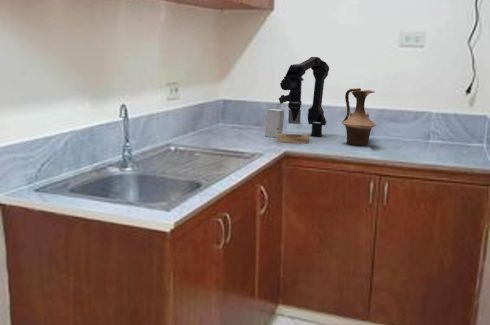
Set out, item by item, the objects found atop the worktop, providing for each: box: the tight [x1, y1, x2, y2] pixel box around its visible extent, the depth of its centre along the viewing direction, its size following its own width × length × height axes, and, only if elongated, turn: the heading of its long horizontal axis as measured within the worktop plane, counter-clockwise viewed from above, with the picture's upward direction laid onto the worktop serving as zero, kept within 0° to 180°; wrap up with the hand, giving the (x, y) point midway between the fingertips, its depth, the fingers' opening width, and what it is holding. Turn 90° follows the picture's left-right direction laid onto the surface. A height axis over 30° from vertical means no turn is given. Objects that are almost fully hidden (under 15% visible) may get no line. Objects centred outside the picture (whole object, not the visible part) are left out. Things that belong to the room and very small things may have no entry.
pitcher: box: [341, 87, 377, 146], centre depth 252 cm, size 18×17×28 cm
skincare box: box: [264, 108, 285, 138], centre depth 273 cm, size 8×6×15 cm
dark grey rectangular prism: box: [287, 108, 302, 125], centre depth 259 cm, size 4×6×7 cm, turn 82°
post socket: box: [276, 132, 310, 144], centre depth 261 cm, size 14×16×2 cm
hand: (294, 120), depth 259 cm, fingers closed on dark grey rectangular prism, 4 cm apart
